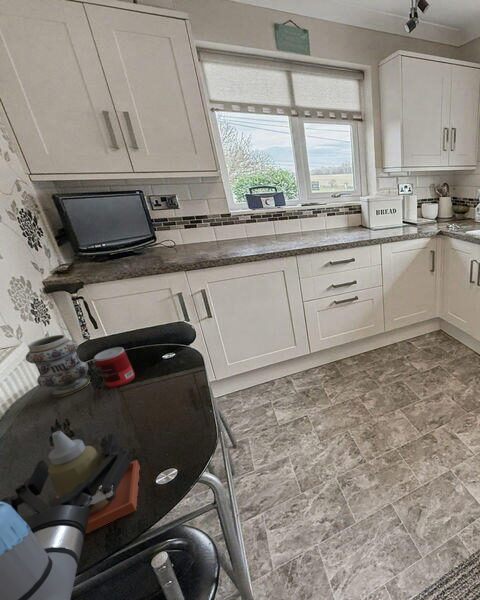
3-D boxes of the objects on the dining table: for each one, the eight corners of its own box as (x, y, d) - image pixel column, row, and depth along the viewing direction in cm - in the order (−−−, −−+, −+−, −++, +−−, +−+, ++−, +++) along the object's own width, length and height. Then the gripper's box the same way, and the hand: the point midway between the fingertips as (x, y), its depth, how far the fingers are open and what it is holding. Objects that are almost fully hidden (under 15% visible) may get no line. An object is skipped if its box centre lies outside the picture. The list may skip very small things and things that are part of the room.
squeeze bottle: (60, 517, 63) (13, 445, 57) (105, 481, 71) (68, 414, 64) (87, 527, 61) (42, 454, 55) (131, 489, 68) (96, 420, 62)
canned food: (135, 371, 115) (123, 344, 112) (136, 381, 110) (123, 352, 106) (107, 381, 111) (94, 353, 107) (107, 391, 105) (92, 362, 101)
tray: (44, 555, 58) (38, 546, 57) (62, 500, 68) (57, 492, 67) (136, 511, 64) (132, 502, 63) (140, 467, 75) (136, 459, 74)
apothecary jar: (103, 375, 115) (81, 329, 109) (77, 396, 104) (51, 346, 97) (65, 380, 114) (41, 334, 107) (35, 402, 102) (6, 352, 96)
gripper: (-52, 618, 44) (10, 497, 61) (150, 517, 55) (154, 440, 73) (-86, 583, 41) (-11, 467, 59) (134, 485, 53) (141, 412, 70)
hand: (80, 452), depth 66 cm, fingers open, 10 cm apart
